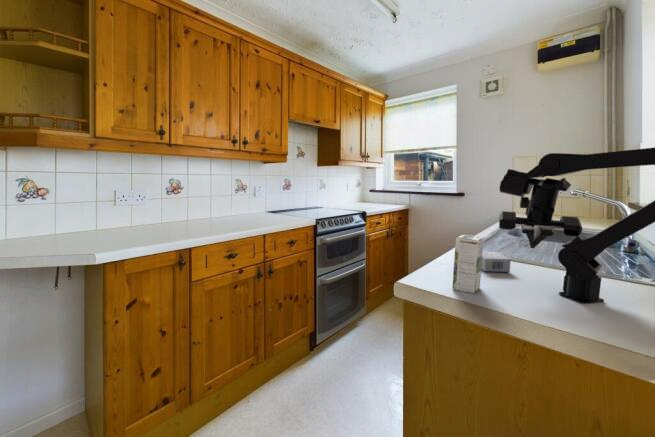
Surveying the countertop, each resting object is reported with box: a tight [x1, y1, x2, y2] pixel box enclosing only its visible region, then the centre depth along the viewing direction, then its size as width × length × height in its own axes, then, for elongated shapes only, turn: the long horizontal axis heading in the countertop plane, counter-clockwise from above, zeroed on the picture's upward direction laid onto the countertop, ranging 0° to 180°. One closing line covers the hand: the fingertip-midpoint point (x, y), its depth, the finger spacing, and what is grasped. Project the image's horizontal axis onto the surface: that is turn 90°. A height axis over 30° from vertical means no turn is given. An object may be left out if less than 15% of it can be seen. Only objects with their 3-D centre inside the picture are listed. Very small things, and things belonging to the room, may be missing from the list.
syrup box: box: [452, 234, 485, 294], centre depth 82 cm, size 6×6×14 cm
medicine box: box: [481, 251, 512, 273], centre depth 101 cm, size 8×4×9 cm
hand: (531, 247), depth 89 cm, fingers closed
